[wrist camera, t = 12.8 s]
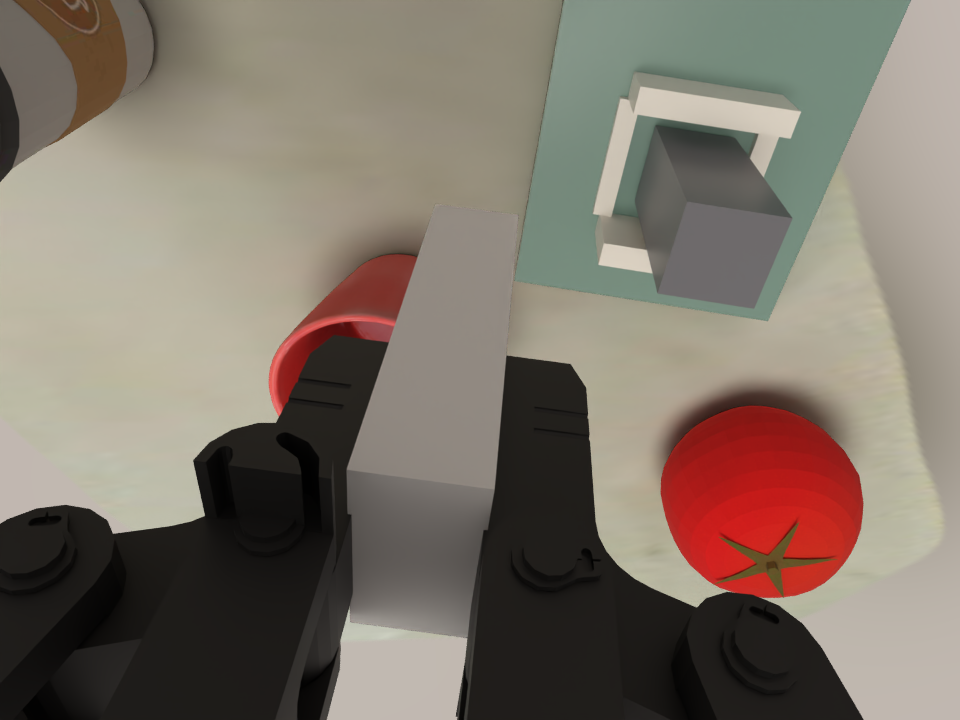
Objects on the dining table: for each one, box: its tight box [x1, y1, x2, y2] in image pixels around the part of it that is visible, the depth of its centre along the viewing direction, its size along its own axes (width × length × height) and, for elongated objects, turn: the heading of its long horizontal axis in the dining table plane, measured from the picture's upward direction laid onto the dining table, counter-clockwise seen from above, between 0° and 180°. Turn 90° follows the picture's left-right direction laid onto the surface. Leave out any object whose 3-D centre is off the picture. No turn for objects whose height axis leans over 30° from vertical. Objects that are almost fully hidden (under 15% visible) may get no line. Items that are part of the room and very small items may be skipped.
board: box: [514, 0, 911, 321], centre depth 32 cm, size 20×15×6 cm
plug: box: [635, 125, 793, 309], centre depth 31 cm, size 5×4×10 cm
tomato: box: [661, 406, 863, 598], centre depth 43 cm, size 12×12×10 cm
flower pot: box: [269, 254, 417, 416], centre depth 39 cm, size 11×11×10 cm
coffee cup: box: [0, 0, 154, 182], centre depth 29 cm, size 8×8×15 cm
